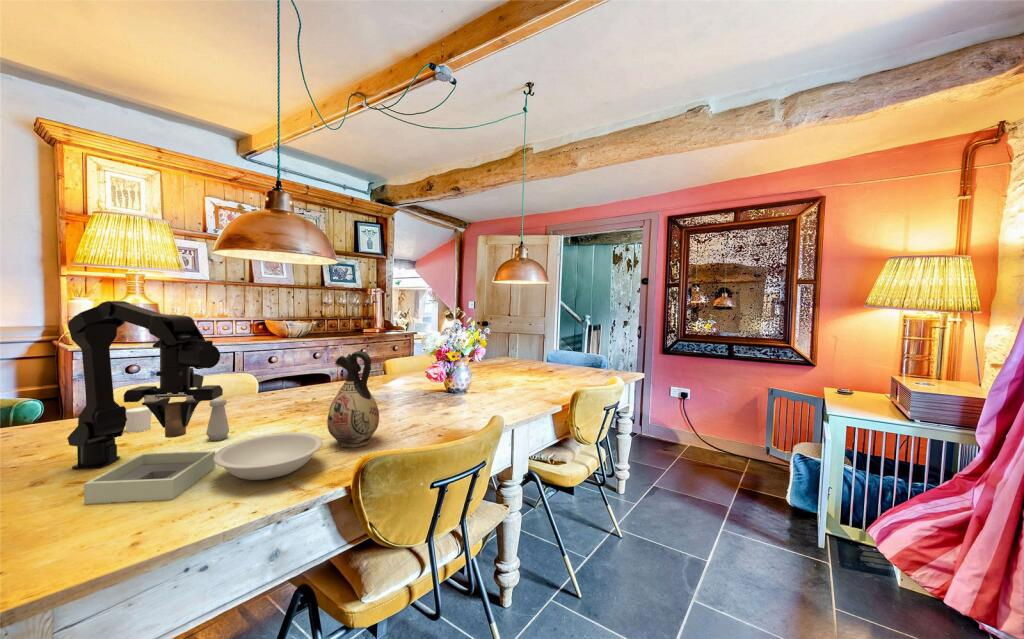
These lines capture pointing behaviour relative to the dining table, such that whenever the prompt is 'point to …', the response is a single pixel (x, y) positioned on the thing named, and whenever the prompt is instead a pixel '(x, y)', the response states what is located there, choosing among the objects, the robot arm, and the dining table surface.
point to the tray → (149, 477)
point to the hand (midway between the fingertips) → (175, 427)
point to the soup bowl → (268, 455)
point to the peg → (173, 420)
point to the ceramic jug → (353, 405)
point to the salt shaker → (217, 420)
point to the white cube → (138, 419)
